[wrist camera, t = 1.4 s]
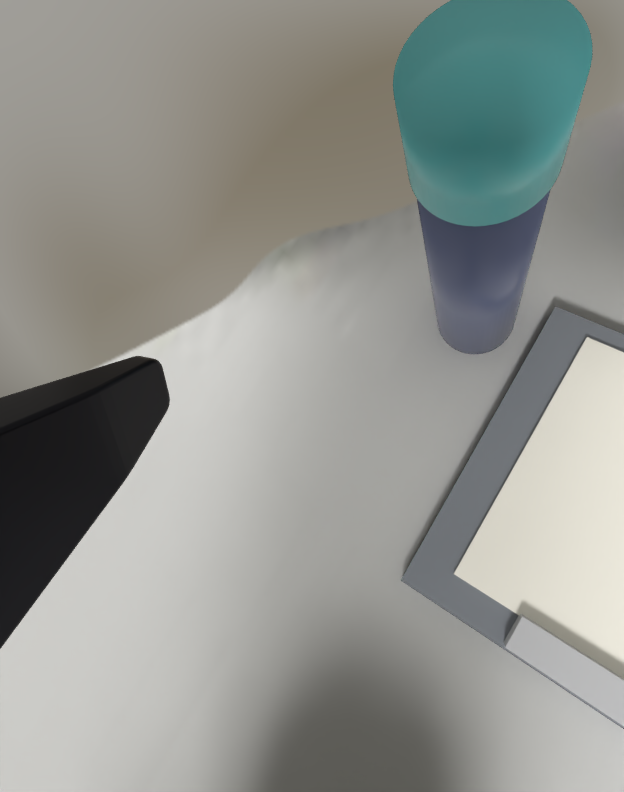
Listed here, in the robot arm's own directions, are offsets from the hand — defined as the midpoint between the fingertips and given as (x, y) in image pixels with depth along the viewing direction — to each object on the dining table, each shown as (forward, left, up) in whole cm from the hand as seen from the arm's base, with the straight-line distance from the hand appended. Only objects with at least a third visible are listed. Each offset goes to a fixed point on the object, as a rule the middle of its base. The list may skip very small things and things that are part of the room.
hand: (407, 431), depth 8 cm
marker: (+6, +2, -13) cm, 15 cm away
